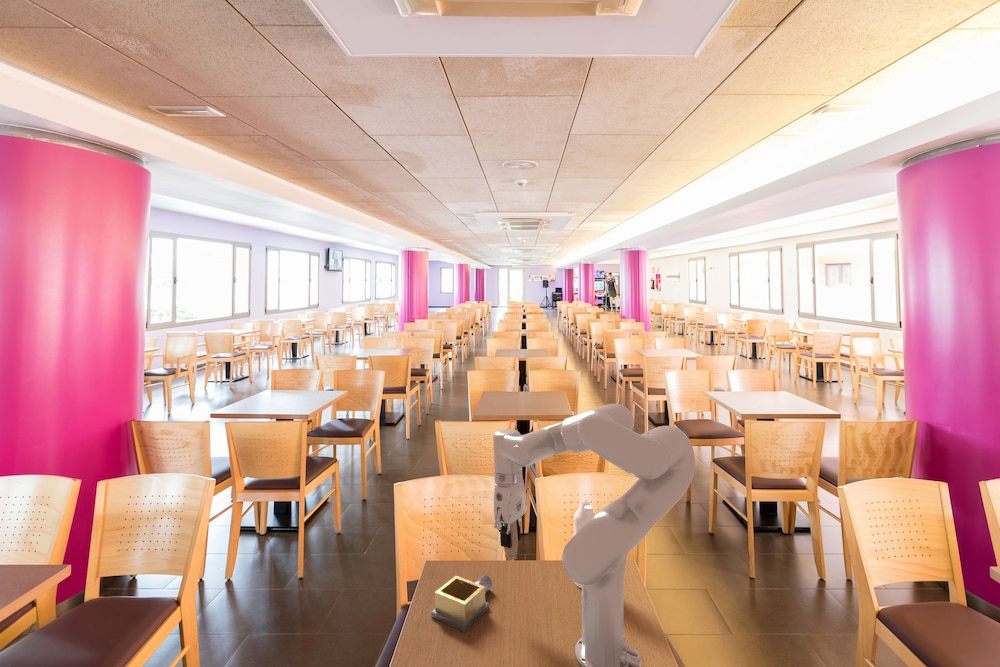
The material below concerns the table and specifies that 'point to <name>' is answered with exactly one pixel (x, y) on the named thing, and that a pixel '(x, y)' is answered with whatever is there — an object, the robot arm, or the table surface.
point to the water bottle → (582, 519)
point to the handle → (512, 552)
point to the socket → (461, 601)
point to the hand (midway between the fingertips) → (510, 542)
